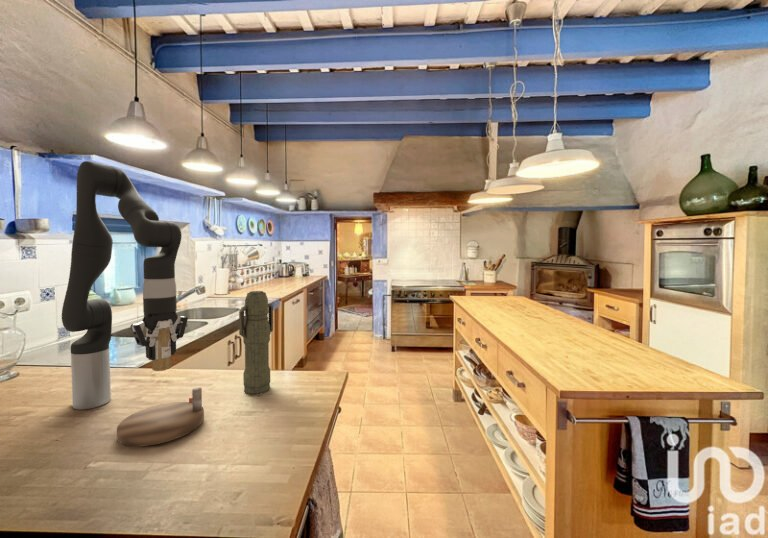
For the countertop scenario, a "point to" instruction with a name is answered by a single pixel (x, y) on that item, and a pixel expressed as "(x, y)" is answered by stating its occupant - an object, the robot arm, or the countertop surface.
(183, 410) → the turntable
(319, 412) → the countertop surface
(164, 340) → the sprinkles bottle
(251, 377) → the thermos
